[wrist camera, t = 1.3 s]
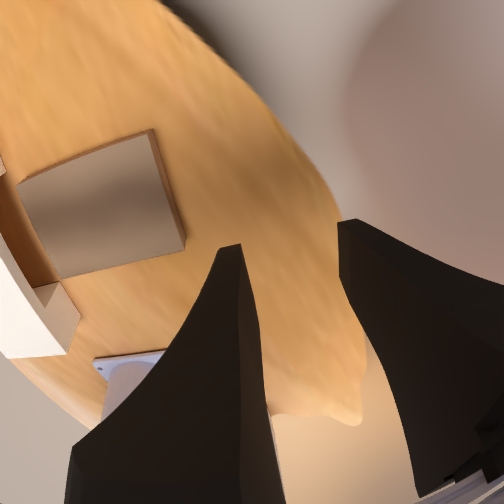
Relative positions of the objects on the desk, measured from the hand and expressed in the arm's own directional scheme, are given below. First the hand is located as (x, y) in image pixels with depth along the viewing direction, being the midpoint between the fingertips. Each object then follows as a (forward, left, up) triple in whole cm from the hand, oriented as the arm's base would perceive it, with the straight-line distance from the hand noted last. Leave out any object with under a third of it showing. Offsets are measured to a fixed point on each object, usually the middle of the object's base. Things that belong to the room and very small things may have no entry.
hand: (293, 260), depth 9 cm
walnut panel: (0, +10, -10) cm, 14 cm away
